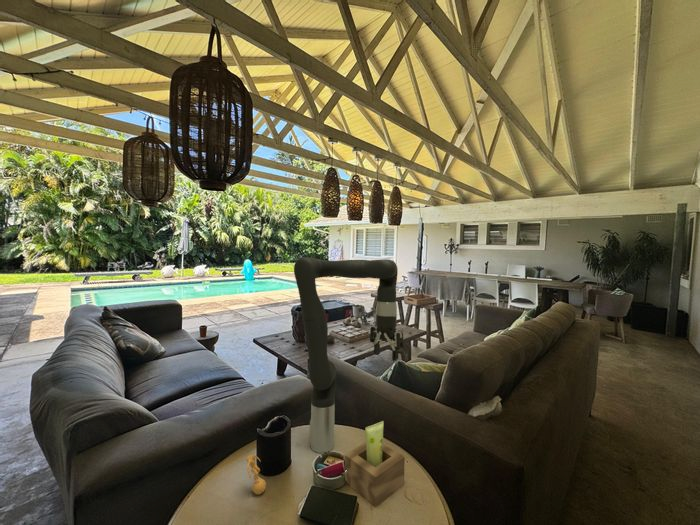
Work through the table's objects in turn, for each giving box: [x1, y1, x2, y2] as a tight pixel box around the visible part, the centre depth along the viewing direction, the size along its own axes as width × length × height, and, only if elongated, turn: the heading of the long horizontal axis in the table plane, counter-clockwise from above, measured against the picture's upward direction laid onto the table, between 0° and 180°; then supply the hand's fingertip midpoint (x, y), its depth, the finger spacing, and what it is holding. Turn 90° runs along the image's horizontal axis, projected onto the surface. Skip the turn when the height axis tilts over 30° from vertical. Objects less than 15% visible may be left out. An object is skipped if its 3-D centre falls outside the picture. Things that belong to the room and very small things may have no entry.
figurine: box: [246, 453, 267, 495], centre depth 94 cm, size 8×6×12 cm
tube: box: [364, 420, 385, 467], centre depth 98 cm, size 6×5×20 cm
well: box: [344, 442, 406, 508], centre depth 98 cm, size 14×14×9 cm
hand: (385, 357), depth 109 cm, fingers open, 8 cm apart
